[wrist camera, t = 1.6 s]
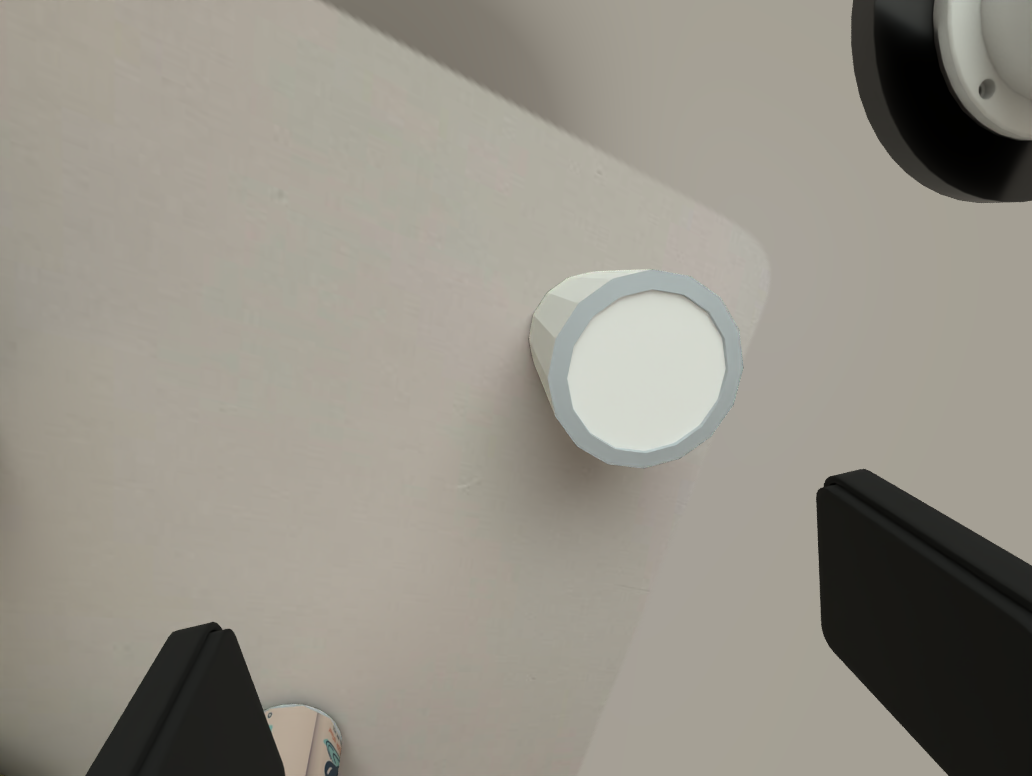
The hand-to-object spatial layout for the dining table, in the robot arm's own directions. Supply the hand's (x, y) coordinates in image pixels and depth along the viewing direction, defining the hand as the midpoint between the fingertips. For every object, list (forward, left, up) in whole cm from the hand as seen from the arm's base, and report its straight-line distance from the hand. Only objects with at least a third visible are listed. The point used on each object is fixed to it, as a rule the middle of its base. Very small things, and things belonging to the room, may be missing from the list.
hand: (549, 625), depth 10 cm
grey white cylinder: (-5, +4, -18) cm, 19 cm away
